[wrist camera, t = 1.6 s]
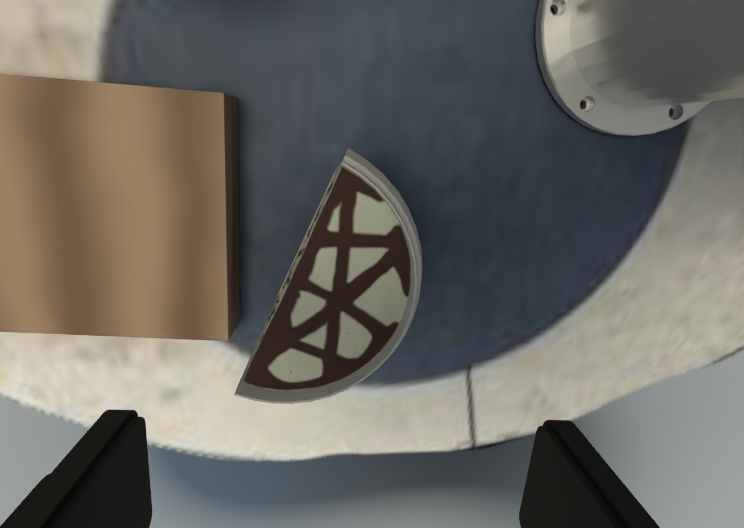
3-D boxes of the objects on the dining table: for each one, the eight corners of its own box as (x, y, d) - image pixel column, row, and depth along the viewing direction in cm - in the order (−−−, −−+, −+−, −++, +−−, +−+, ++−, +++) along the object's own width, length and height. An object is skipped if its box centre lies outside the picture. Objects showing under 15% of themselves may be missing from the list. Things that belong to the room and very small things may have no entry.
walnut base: (237, 98, 25) (223, 92, 22) (239, 320, 29) (228, 340, 26) (-59, 72, 24) (-115, 63, 21) (-15, 309, 27) (-57, 329, 25)
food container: (350, 350, 30) (353, 450, 20) (267, 315, 29) (229, 404, 19) (435, 189, 27) (484, 218, 18) (346, 145, 26) (348, 149, 16)
